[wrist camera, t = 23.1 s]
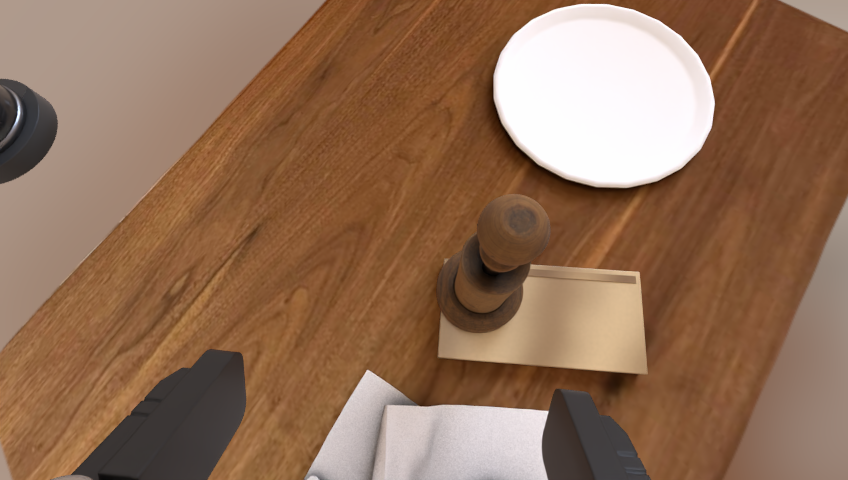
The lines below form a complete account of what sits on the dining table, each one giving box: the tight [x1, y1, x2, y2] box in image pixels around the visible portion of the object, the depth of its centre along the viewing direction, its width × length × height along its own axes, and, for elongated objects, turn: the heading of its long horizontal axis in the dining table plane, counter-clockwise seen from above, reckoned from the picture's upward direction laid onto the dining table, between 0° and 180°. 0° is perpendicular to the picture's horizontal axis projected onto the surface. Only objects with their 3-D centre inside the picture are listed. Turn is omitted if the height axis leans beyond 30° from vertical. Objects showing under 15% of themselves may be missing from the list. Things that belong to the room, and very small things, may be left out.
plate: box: [493, 4, 715, 188], centre depth 40 cm, size 21×21×1 cm
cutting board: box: [438, 259, 648, 375], centre depth 33 cm, size 16×8×2 cm, turn 85°
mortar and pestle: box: [436, 194, 550, 333], centre depth 25 cm, size 7×6×18 cm
